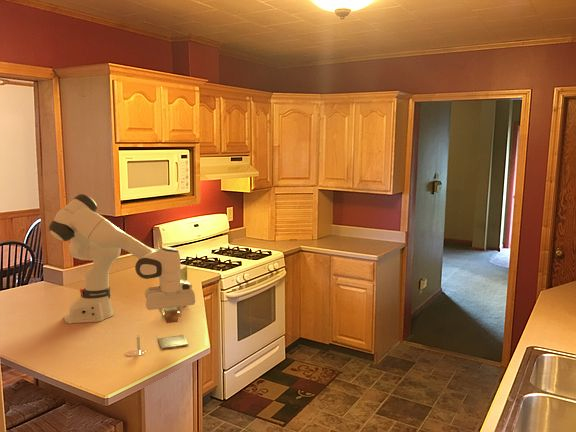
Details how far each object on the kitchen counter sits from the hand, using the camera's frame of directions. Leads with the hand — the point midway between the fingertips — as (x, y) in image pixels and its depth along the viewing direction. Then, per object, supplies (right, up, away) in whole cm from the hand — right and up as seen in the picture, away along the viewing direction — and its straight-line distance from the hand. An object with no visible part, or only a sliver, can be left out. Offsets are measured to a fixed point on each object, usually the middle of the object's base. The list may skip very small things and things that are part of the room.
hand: (171, 316), depth 209 cm
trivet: (0, -12, +2) cm, 12 cm away
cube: (0, -2, 0) cm, 2 cm away
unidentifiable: (-13, -13, -9) cm, 20 cm away
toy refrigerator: (-7, -5, +50) cm, 51 cm away
